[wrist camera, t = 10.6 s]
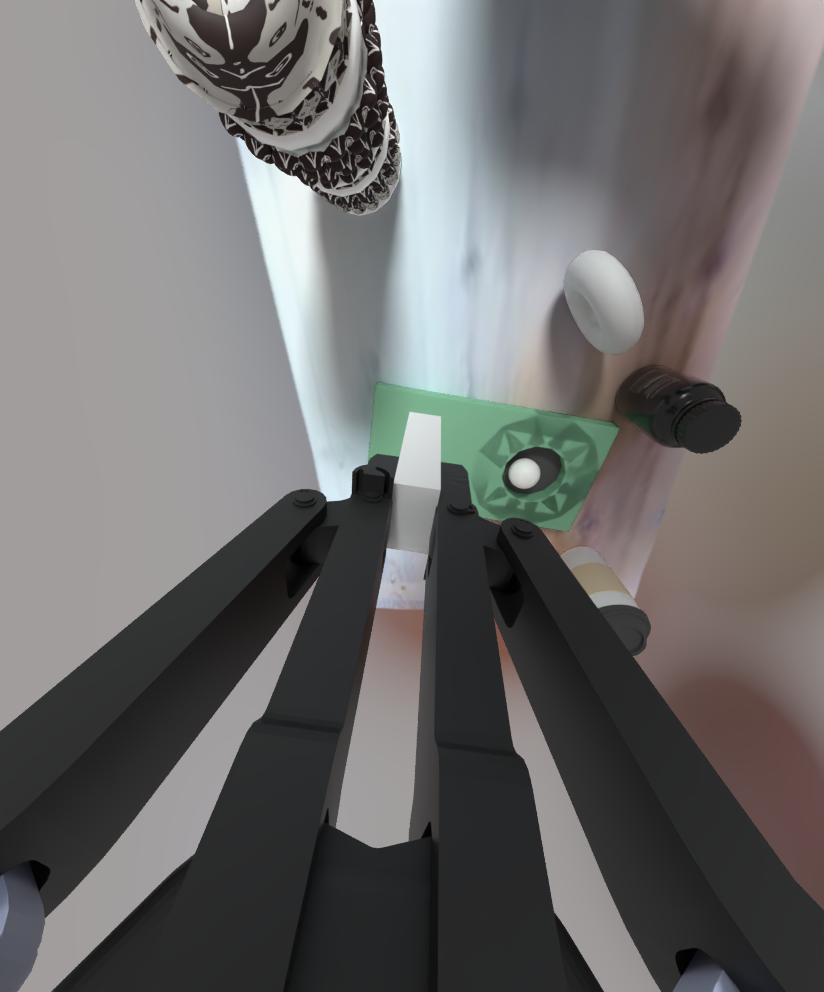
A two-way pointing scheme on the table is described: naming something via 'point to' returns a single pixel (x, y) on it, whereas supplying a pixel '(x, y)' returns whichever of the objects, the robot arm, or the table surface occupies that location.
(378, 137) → the decorative candle
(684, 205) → the table surface
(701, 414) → the supplement bottle
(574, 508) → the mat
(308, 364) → the table surface
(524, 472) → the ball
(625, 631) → the coffee cup
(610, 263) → the donut
